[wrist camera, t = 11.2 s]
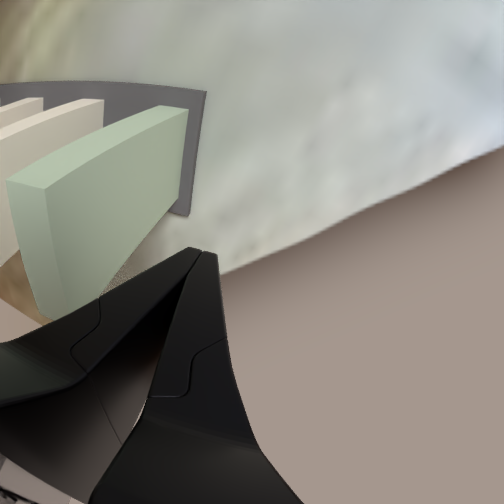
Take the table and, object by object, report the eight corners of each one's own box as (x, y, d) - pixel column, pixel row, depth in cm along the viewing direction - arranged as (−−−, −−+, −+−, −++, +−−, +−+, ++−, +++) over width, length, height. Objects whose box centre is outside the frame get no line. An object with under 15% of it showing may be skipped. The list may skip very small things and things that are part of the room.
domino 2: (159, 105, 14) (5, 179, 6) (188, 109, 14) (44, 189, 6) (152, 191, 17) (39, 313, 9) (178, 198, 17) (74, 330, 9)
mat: (-46, 91, 15) (-49, 92, 14) (206, 91, 14) (204, 92, 14) (-40, 161, 19) (-43, 163, 18) (190, 213, 18) (187, 216, 18)
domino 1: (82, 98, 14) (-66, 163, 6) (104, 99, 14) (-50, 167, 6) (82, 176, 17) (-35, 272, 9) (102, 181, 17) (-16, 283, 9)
